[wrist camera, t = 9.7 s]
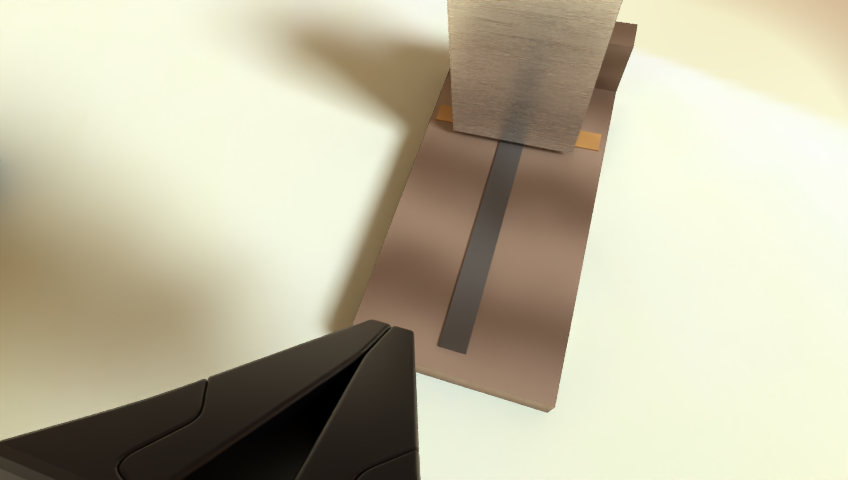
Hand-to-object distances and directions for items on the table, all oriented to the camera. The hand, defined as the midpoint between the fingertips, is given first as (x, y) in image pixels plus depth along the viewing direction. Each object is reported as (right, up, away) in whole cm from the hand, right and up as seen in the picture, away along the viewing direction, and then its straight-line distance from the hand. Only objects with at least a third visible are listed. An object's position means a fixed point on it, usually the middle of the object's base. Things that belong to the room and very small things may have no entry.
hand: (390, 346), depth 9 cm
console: (+4, +3, +16) cm, 17 cm away
